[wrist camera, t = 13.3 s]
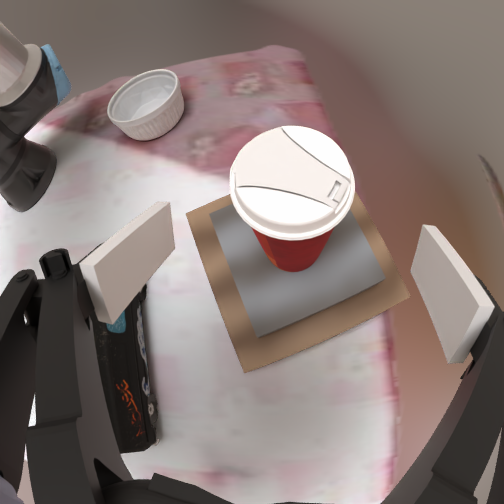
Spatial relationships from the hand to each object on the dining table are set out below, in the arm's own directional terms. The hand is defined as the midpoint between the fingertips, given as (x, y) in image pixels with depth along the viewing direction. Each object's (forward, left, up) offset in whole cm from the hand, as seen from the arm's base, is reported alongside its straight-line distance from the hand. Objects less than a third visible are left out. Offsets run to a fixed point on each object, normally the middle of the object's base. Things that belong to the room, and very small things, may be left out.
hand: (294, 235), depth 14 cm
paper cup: (-4, +2, -15) cm, 15 cm away
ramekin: (-38, -9, -22) cm, 45 cm away
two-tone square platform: (-4, +2, -22) cm, 22 cm away
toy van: (-1, -24, -22) cm, 33 cm away
